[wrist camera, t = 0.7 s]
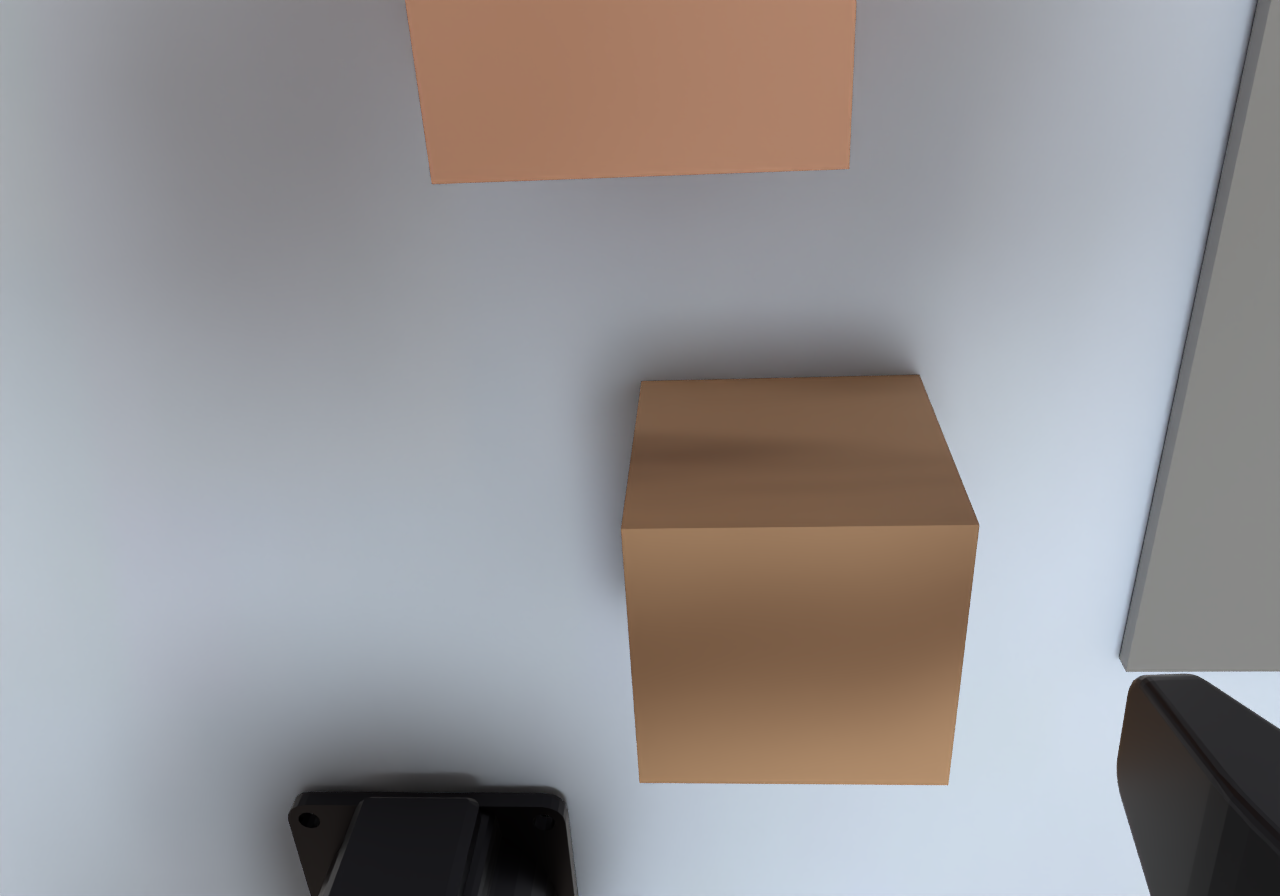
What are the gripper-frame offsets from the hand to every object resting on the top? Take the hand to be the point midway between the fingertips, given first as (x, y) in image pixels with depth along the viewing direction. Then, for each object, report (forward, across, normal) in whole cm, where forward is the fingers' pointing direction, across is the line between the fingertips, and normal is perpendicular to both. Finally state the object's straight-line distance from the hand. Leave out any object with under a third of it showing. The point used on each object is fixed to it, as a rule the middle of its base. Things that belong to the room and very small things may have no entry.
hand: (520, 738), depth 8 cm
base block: (+12, -3, +5) cm, 13 cm away
